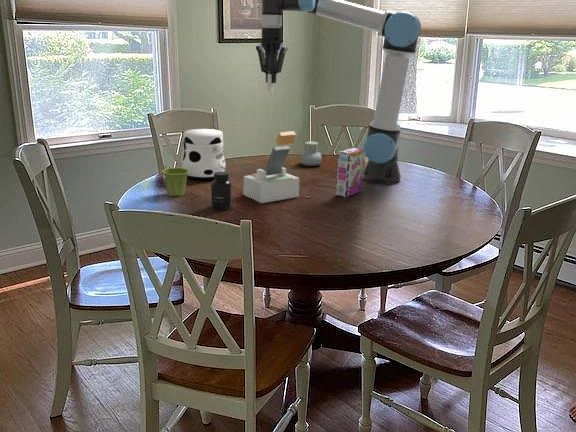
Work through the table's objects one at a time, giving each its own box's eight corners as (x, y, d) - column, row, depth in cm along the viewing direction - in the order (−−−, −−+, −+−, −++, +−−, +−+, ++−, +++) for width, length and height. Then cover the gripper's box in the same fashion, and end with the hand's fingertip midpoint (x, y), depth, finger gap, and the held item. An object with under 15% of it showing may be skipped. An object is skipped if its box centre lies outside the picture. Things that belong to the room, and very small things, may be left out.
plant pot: (194, 192, 216) (194, 169, 213) (179, 199, 208) (179, 175, 205) (173, 189, 220) (172, 166, 217) (157, 195, 212) (156, 172, 209)
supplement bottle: (215, 211, 195) (214, 176, 192) (208, 206, 201) (207, 171, 197) (234, 209, 198) (234, 174, 195) (227, 204, 204) (226, 170, 200)
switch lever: (262, 173, 211) (278, 132, 198) (277, 171, 215) (294, 131, 202) (264, 177, 210) (281, 136, 198) (279, 174, 214) (296, 134, 201)
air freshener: (299, 162, 268) (300, 140, 265) (318, 162, 269) (318, 140, 266) (303, 167, 258) (303, 145, 255) (321, 167, 259) (322, 145, 256)
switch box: (243, 194, 215) (243, 167, 212) (280, 188, 224) (280, 163, 221) (261, 203, 206) (261, 175, 203) (298, 196, 214) (299, 169, 211)
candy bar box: (347, 198, 214) (349, 153, 209) (335, 195, 217) (337, 151, 212) (361, 191, 223) (364, 148, 218) (350, 189, 226) (352, 147, 221)
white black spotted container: (233, 178, 237) (233, 133, 231) (193, 184, 228) (192, 137, 222) (213, 169, 251) (212, 127, 245) (175, 174, 241) (173, 130, 236)
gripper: (292, 27, 221) (290, 92, 228) (262, 26, 227) (262, 89, 234) (281, 27, 215) (280, 93, 222) (251, 26, 221) (251, 91, 228)
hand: (270, 91), depth 228 cm, fingers closed
